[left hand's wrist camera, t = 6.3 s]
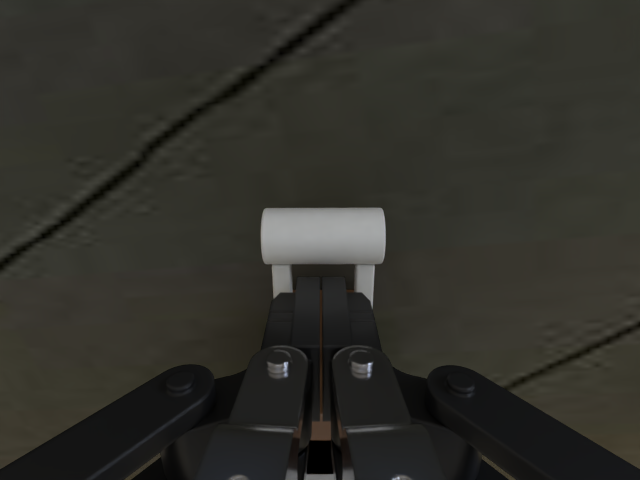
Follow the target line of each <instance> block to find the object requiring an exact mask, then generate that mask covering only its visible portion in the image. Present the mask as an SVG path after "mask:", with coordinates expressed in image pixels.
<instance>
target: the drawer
mask: <svg viewBox="0 0 640 480" xmlns="http://www.w3.org/2000/svg"><path fill="white" fill-rule="evenodd" d="M385 244H386V228H385V217H384V212H383V210H382V208H265V209H264V211H263V214H262V220H261V251H262V258H263V261H264V263H265V264H273V265H272V278H273V296H274V298H275V297H276V296H277V295H278V294H279V293H280V292H295V291H296V290H293V287H292V264H355V273H354V290H347V292H362V293H363V294H364V295H365V296H366V297H367V298H368V299H369V300H370V301H371V306H372V309H373V289H374V270H375V266H374V264H381V263H382V262H383V260H384V255H385ZM307 474H333V466H332V457H331V421H323V415H322V290H320V422H312V435H311V440H310V442H309V457H308V466H307Z"/></svg>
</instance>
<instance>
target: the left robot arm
mask: <svg viewBox="0 0 640 480" xmlns="http://www.w3.org/2000/svg"><path fill="white" fill-rule="evenodd" d="M322 415H323V421H331V457H332V466H333V475H334V480H508V479H507V478H506V477H505V476H503V475H502V474H501V473H499V472H498V471H497V470H495V469H494V468H493V467H491V466H490V465H489V464H488V463H486V462H485V461H484V460H482V454H483V455H484V456H485V457H487V458H488V459H489V460H491V461H492V462H493V463H495V464H496V465H497V466H499V467H500V468H501V469H503V470H504V471H505V472H507V473H508V474H509V475H511V476H512V477H513V478H515V479H516V480H640V469H638V468H637V467H635V466H633V465H632V464H630V463H628V462H626V461H625V460H623V459H621V458H620V457H618V456H616V455H615V454H613V453H611V452H610V451H608V450H606V449H605V448H603V447H601V446H600V445H598V444H596V443H595V442H593V441H591V440H589V439H588V438H586V437H584V436H583V435H581V434H579V433H578V432H576V431H574V430H573V429H571V428H569V427H568V426H566V425H564V424H563V423H561V422H559V421H558V420H556V419H554V418H553V417H551V416H549V415H547V414H546V413H544V412H542V411H541V410H539V409H537V408H536V407H534V406H532V405H531V404H529V403H527V402H526V401H524V400H522V399H521V398H519V397H517V396H516V395H514V394H512V393H511V392H509V391H507V390H505V389H504V388H502V387H500V386H499V385H497V384H495V383H494V382H492V381H490V380H489V379H487V378H485V377H484V376H482V375H480V374H479V373H477V372H475V371H473V370H470V369H468V368H465V367H461V366H454V365H446V366H441V367H438V368H436V369H434V370H433V371H431V372H430V374H429V375H428V378H427V379H425V378H421V377H417V376H412V375H409V374H406V373H403V372H401V371H399V370H397V369H395V368H394V367H392V365H391V362H390V360H389V358H388V357H387V356H386V355H385V354H384V353H383V352H382V349H381V345H380V340H379V336H378V332H377V327H376V323H375V319H374V314H373V310H372V306H371V301H370V300H369V299H368V298H367V297H366V296H365V295H364V294H363V293H362V292H347V290H346V282H345V277H322ZM312 422H320V277H297V283H296V291H295V292H280V293H279V294H278V295H277V296H276V297H275V298H274V299H273V300H272V302H271V306H270V311H269V315H268V322H267V324H266V329H265V333H264V338H263V343H262V347H261V350H260V351H259V352H257V353H256V354H255V355H254V356H253V357H252V358H251V360H250V362H249V365H248V368H247V369H246V370H244V371H242V372H240V373H237V374H234V375H231V376H227V377H222V378H218V379H214V376H213V374H212V372H211V371H210V370H209V369H207V368H205V367H203V366H200V365H192V364H189V365H181V366H177V367H174V368H171V369H169V370H167V371H165V372H163V373H161V374H160V375H158V376H156V377H155V378H153V379H151V380H150V381H148V382H146V383H145V384H143V385H141V386H140V387H138V388H136V389H135V390H133V391H131V392H130V393H128V394H126V395H124V396H123V397H121V398H119V399H118V400H116V401H114V402H113V403H111V404H109V405H108V406H106V407H104V408H103V409H101V410H99V411H98V412H96V413H94V414H93V415H91V416H89V417H87V418H86V419H84V420H82V421H81V422H79V423H77V424H76V425H74V426H72V427H71V428H69V429H67V430H66V431H64V432H62V433H61V434H59V435H57V436H56V437H54V438H52V439H51V440H49V441H47V442H45V443H44V444H42V445H40V446H39V447H37V448H35V449H34V450H32V451H30V452H29V453H27V454H25V455H24V456H22V457H20V458H19V459H17V460H15V461H14V462H12V463H10V464H9V465H7V466H5V467H3V468H2V469H0V480H124V479H125V478H127V477H128V476H129V475H131V474H132V473H133V472H135V471H136V470H137V469H139V468H140V467H141V466H143V465H144V464H145V463H147V462H148V461H149V460H151V459H152V458H153V457H155V456H156V455H157V454H158V453H160V455H161V457H160V458H159V459H158V460H156V461H155V462H154V463H152V464H151V465H150V466H149V467H147V468H146V469H145V470H143V471H142V472H141V473H139V474H138V475H137V476H135V477H134V478H133V479H132V480H306V475H307V466H308V457H309V442H310V440H311V435H312Z"/></svg>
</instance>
